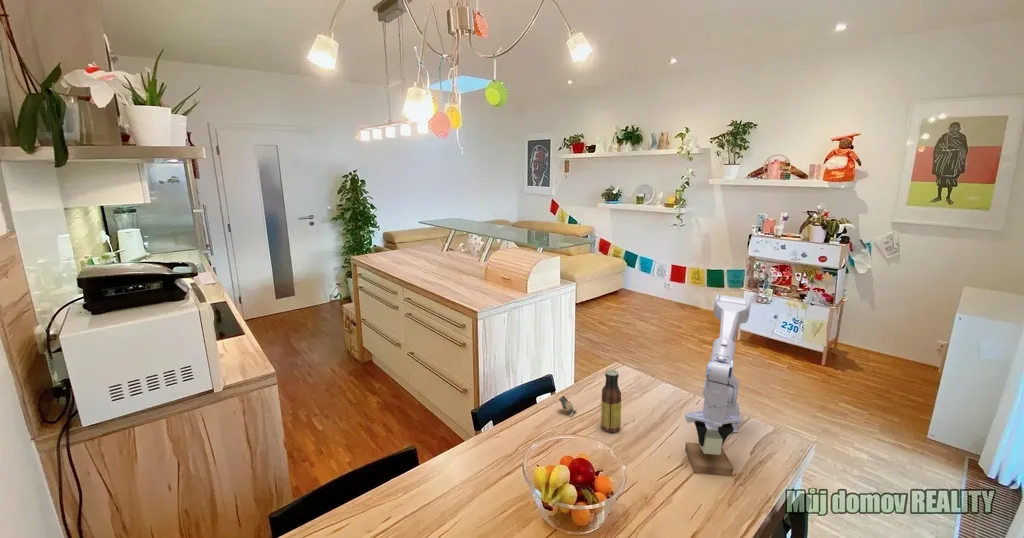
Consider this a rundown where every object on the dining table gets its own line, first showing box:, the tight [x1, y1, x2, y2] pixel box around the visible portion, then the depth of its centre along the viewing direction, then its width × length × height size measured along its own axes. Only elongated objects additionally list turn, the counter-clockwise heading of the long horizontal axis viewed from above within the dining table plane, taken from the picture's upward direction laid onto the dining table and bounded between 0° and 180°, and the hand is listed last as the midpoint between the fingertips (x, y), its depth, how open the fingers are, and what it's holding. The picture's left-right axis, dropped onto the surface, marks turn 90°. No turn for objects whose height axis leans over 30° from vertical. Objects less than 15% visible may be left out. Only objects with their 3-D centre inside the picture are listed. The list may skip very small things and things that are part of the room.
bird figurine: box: [558, 395, 577, 419], centre depth 147 cm, size 5×5×6 cm
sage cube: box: [699, 429, 723, 455], centre depth 122 cm, size 4×4×5 cm
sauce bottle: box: [600, 369, 622, 434], centre depth 137 cm, size 6×6×20 cm
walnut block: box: [684, 441, 734, 477], centre depth 124 cm, size 10×10×3 cm
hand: (709, 444), depth 122 cm, fingers closed on sage cube, 4 cm apart
